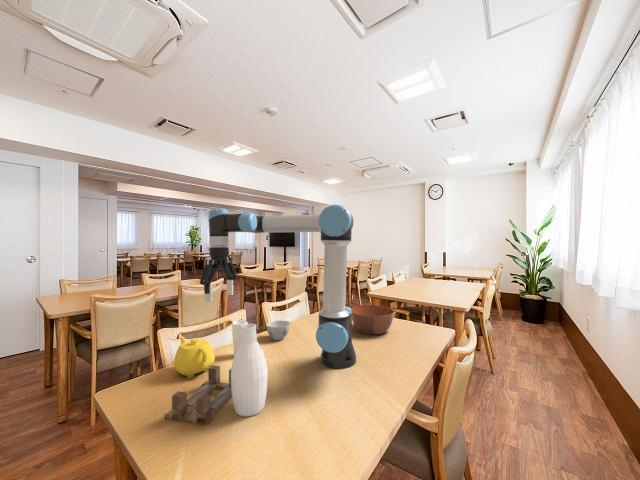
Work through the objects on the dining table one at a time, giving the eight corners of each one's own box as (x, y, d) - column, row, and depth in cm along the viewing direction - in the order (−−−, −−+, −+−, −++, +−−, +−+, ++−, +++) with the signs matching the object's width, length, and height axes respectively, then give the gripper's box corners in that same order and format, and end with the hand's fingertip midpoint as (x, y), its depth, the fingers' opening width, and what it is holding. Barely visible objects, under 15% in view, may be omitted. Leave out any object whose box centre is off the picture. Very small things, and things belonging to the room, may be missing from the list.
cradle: (241, 388, 95) (241, 368, 95) (207, 425, 76) (207, 400, 76) (206, 383, 98) (206, 364, 98) (164, 418, 79) (164, 394, 79)
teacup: (295, 337, 143) (295, 322, 143) (277, 345, 134) (277, 328, 134) (276, 331, 153) (276, 317, 153) (258, 338, 143) (258, 323, 143)
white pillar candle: (243, 359, 118) (243, 325, 118) (229, 358, 119) (229, 324, 119) (250, 353, 124) (250, 320, 124) (237, 352, 125) (236, 319, 125)
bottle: (223, 417, 79) (222, 330, 79) (241, 396, 90) (240, 319, 90) (259, 421, 77) (259, 332, 77) (273, 398, 88) (272, 321, 88)
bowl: (400, 338, 141) (399, 316, 141) (352, 338, 142) (352, 316, 142) (388, 323, 166) (388, 304, 166) (348, 323, 167) (347, 305, 167)
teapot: (188, 385, 97) (187, 350, 97) (163, 369, 109) (163, 338, 109) (222, 370, 108) (222, 338, 108) (196, 357, 120) (196, 329, 120)
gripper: (229, 246, 125) (230, 292, 125) (188, 247, 101) (189, 304, 101) (244, 245, 123) (244, 292, 123) (205, 247, 99) (206, 305, 99)
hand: (220, 298), depth 112 cm, fingers open, 13 cm apart
